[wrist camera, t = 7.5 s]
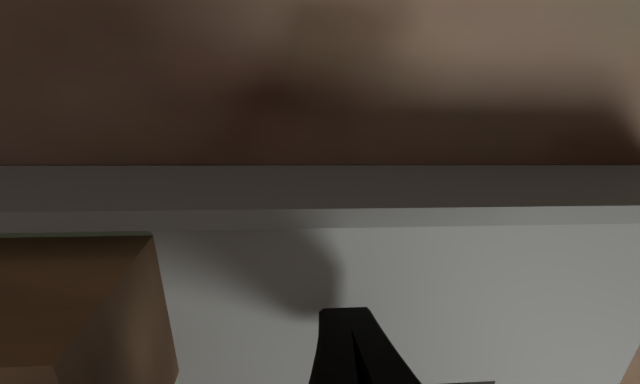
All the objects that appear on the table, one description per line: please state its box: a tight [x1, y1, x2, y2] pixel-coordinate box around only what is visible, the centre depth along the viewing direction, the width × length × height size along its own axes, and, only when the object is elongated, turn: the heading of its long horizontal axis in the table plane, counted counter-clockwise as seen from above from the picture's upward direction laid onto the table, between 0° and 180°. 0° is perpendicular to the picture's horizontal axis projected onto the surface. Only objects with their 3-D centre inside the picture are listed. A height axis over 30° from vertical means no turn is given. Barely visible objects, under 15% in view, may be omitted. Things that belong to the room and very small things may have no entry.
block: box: [0, 235, 179, 384], centre depth 8 cm, size 5×5×4 cm
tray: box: [0, 165, 640, 384], centre depth 12 cm, size 15×22×3 cm
